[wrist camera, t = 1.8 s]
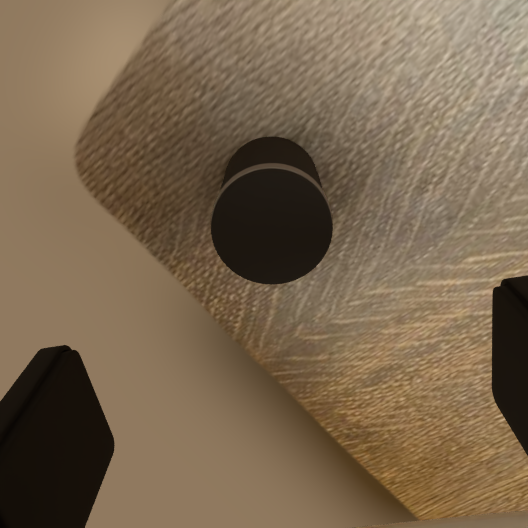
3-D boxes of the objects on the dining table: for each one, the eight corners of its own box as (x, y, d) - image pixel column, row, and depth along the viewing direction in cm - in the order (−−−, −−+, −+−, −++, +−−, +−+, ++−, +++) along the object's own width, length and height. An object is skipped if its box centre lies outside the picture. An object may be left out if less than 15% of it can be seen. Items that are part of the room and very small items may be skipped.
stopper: (205, 195, 23) (186, 245, 18) (259, 115, 22) (255, 143, 16) (282, 244, 25) (285, 306, 19) (338, 172, 23) (360, 216, 17)
